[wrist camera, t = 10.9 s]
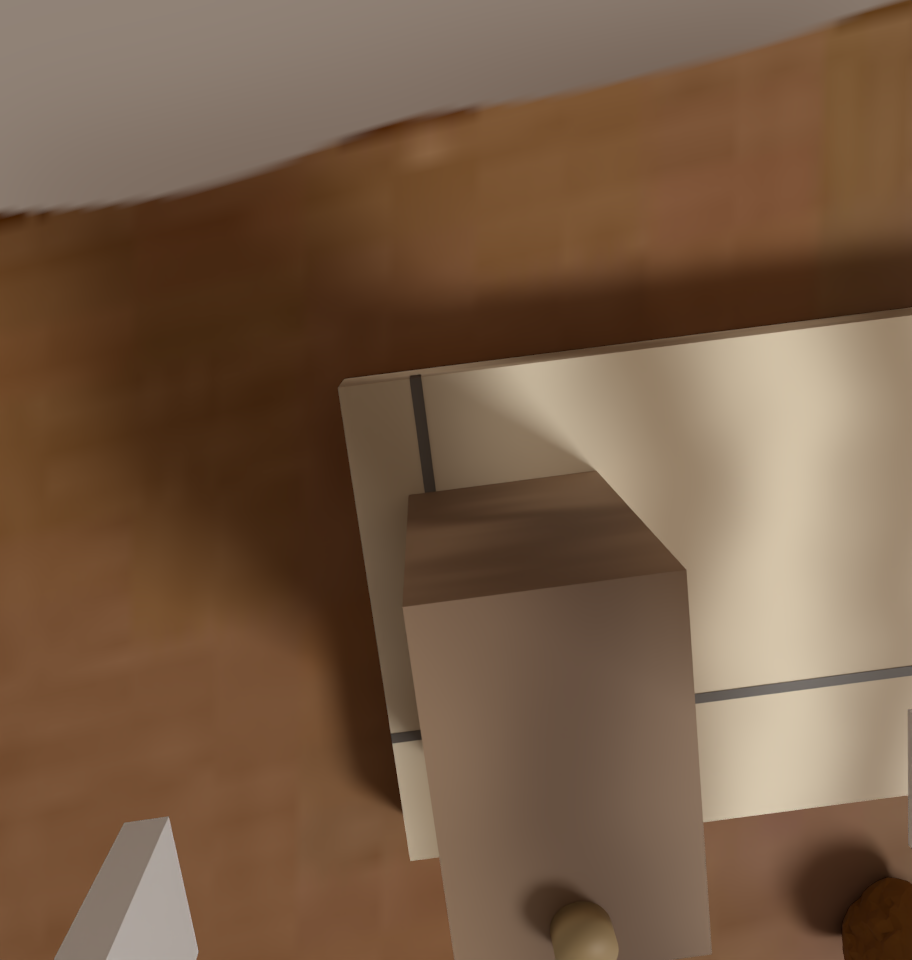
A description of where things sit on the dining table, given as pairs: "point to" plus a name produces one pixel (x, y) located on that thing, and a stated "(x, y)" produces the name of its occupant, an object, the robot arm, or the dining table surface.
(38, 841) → the dining table surface
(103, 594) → the dining table surface
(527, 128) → the dining table surface
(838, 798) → the board
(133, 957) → the robot arm
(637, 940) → the beige drawer
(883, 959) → the primitive tool
